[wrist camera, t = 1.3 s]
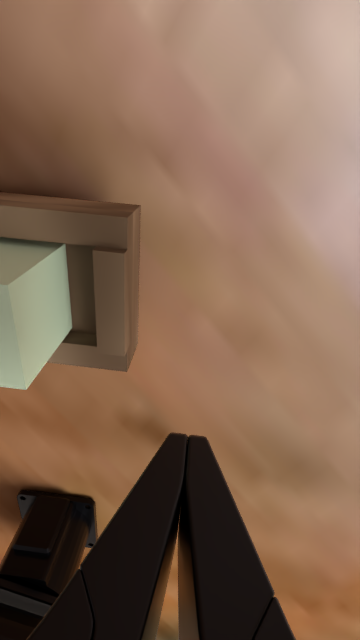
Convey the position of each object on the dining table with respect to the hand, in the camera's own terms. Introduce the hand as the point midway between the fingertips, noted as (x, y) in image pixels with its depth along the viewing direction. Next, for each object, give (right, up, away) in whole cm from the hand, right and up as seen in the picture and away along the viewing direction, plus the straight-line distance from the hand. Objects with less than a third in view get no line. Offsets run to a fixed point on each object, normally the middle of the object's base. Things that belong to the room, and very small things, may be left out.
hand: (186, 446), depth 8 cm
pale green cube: (-7, +5, +7) cm, 11 cm away
